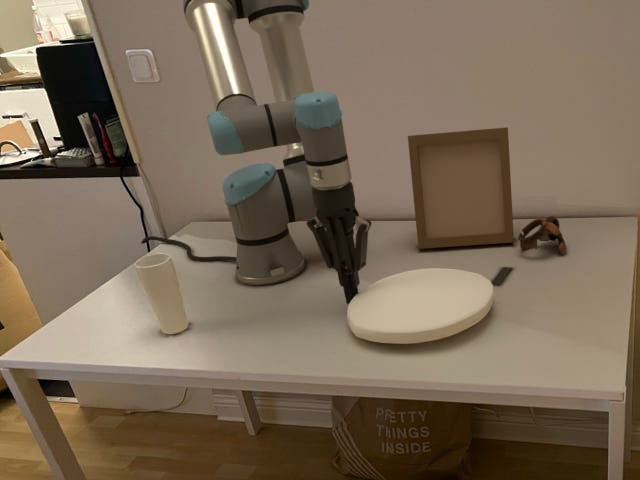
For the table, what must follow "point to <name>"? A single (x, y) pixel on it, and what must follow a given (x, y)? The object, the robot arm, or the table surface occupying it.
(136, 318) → the table surface
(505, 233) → the photo frame
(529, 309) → the table surface
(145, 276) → the drinking glass
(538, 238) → the brown curved piece
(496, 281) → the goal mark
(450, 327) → the plate
